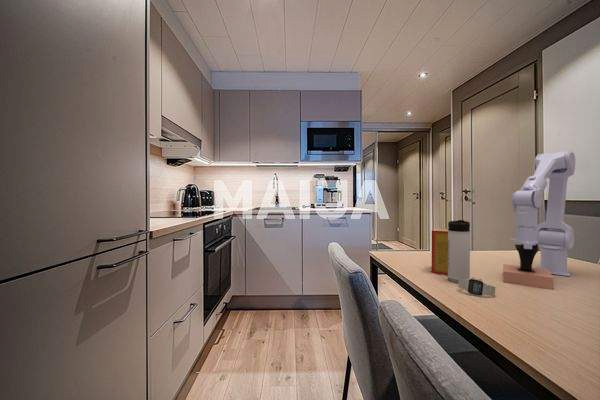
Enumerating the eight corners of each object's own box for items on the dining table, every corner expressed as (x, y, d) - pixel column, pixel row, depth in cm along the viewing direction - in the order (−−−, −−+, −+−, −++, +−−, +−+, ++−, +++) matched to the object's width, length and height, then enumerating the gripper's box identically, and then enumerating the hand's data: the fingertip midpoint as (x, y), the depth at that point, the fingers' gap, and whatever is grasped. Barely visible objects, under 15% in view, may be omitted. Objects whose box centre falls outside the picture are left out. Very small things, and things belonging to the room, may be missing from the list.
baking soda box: (451, 275, 97) (452, 230, 96) (431, 272, 100) (431, 229, 100) (454, 270, 104) (455, 228, 104) (436, 267, 108) (436, 227, 108)
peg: (519, 270, 93) (519, 250, 93) (531, 272, 91) (531, 251, 91) (520, 272, 90) (520, 251, 90) (532, 274, 89) (532, 252, 89)
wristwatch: (456, 293, 80) (456, 276, 80) (459, 287, 85) (459, 271, 85) (495, 300, 74) (495, 281, 74) (495, 293, 79) (495, 276, 79)
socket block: (503, 273, 99) (503, 264, 99) (547, 279, 92) (547, 269, 92) (503, 282, 89) (503, 271, 89) (553, 289, 82) (553, 277, 82)
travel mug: (471, 280, 91) (472, 220, 91) (467, 285, 86) (467, 221, 86) (451, 276, 95) (451, 219, 95) (445, 281, 91) (445, 220, 90)
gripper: (510, 224, 99) (510, 261, 99) (511, 227, 87) (511, 270, 87) (536, 225, 95) (535, 264, 95) (541, 229, 83) (540, 274, 83)
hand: (526, 267), depth 91 cm, fingers closed on peg, 3 cm apart
